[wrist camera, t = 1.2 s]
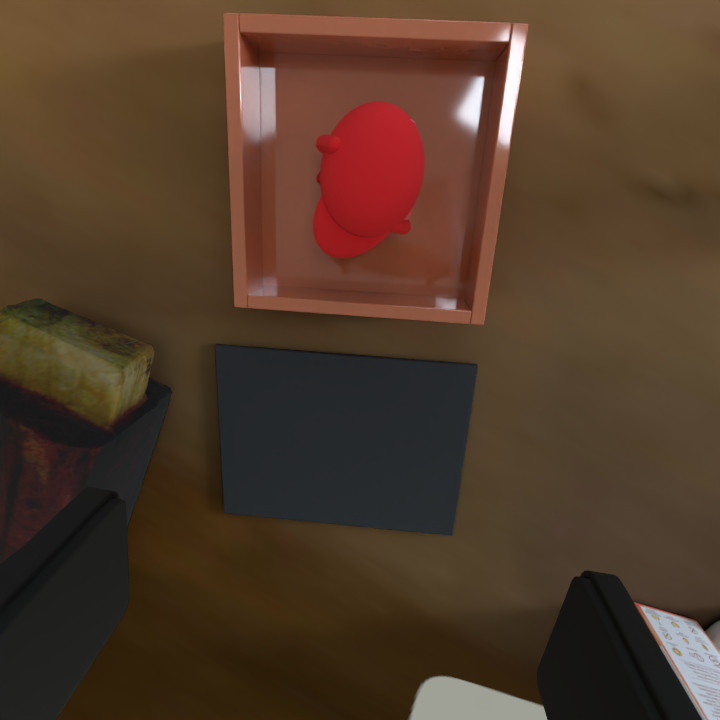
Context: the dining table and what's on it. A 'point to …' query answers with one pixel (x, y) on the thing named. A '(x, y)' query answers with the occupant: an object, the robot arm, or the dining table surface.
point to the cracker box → (688, 657)
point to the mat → (342, 437)
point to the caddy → (319, 117)
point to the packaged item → (70, 415)
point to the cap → (367, 179)
